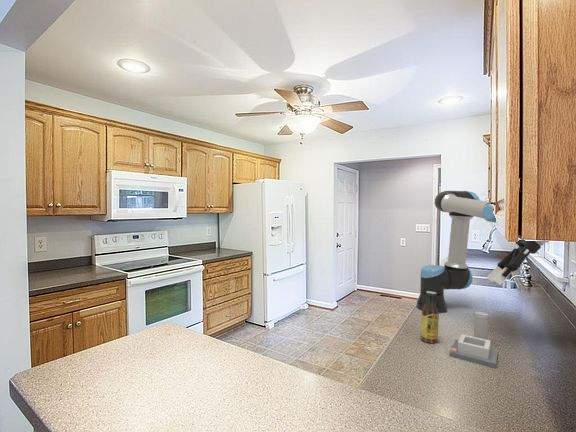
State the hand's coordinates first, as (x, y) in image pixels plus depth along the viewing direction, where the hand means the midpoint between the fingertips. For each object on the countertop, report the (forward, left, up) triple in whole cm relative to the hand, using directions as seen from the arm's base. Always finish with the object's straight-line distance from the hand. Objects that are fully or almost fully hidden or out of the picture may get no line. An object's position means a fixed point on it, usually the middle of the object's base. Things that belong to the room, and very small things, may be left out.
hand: (492, 281), depth 123 cm
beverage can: (+1, -3, -26) cm, 26 cm away
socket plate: (+15, -4, -25) cm, 30 cm away
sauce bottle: (+12, -20, -26) cm, 35 cm away
